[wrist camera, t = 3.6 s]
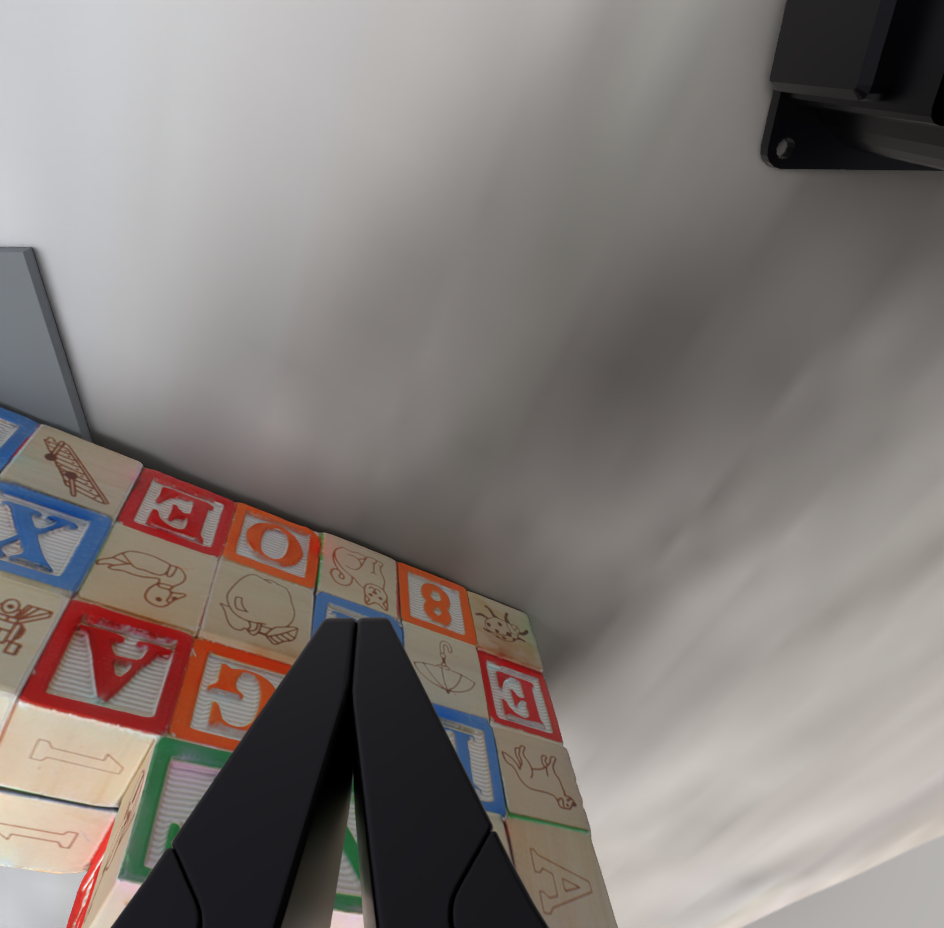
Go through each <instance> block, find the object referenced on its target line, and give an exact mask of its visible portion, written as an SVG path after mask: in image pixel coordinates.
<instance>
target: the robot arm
mask: <svg viewBox="0 0 944 928" xmlns="http://www.w3.org/2000/svg"><path fill="white" fill-rule="evenodd" d="M770 82H771V84H772V86H773V88H774V91H773V96H772V100H771V104H770V109H769V113H768V118H767V122H766V127H765V131H764V135H763V140H762V144H761V157H762V159H763V161H764V162H765V163H766V164H767V165H769V166H772V167H776V168H780V169H846V170H935V171H944V0H787V3H786V7H785V12H784V16H783V21H782V25H781V30H780V34H779V39H778V43H777V48H776V53H775V57H774V62H773V66H772V71H771V75H770ZM783 139H787V141H788V147H787V149H786V151H785V153H784V154H782V155H781V156H777V154H776V148H777V146H778V144H779V143H780V142H781V141H782V140H783ZM352 784H353V785H354V807H355V821H356V834H357V846H358V859H359V872H360V884H361V897H362V910H363V922H364V928H549V926H548V925H547V923H546V921H545V920H544V918H543V916H542V915H541V913H540V912H539V910H538V908H537V907H536V905H535V903H534V902H533V900H532V898H531V896H530V894H529V892H528V890H527V889H526V887H525V885H524V883H523V881H522V879H521V878H520V876H519V874H518V872H517V870H516V868H515V867H514V865H513V863H512V861H511V859H510V857H509V855H508V853H507V851H506V849H505V847H504V845H503V843H502V841H501V839H500V837H499V835H498V833H497V832H495V831H493V824H492V822H491V820H490V818H489V816H488V814H487V812H486V810H485V808H484V806H483V804H482V802H481V800H480V798H479V796H478V794H477V792H476V790H475V788H474V786H473V784H472V782H471V780H470V778H469V776H468V774H467V772H466V770H465V768H464V766H463V764H462V762H461V760H460V758H459V756H458V754H457V752H456V750H455V748H454V746H453V744H452V742H451V740H450V738H449V736H448V734H447V732H446V730H445V728H444V726H443V725H442V723H441V721H440V719H439V717H438V715H437V713H436V711H435V709H434V707H433V705H432V703H431V701H430V699H429V697H428V695H427V693H426V691H425V689H424V687H423V685H422V683H421V681H420V679H419V677H418V675H417V673H416V671H415V669H414V667H413V665H412V663H411V661H410V659H409V657H408V655H407V653H406V651H405V649H404V647H403V645H402V643H401V641H400V639H399V637H398V635H397V633H396V631H395V629H394V627H393V625H392V623H391V621H390V620H389V619H388V618H386V617H362V618H360V619H358V621H357V623H356V620H355V619H354V618H327V619H325V620H324V621H323V622H322V623H321V624H320V626H319V627H318V628H317V630H316V631H315V633H314V634H313V636H312V637H311V639H310V640H309V642H308V643H307V644H306V646H305V647H304V649H303V650H302V652H301V653H300V655H299V656H298V658H297V659H296V661H295V662H294V663H293V665H292V666H291V668H290V669H289V671H288V672H287V674H286V675H285V677H284V678H283V680H282V681H281V682H280V684H279V685H278V687H277V688H276V690H275V691H274V693H273V694H272V696H271V697H270V698H269V700H268V701H267V703H266V704H265V706H264V707H263V709H262V710H261V712H260V713H259V715H258V716H257V717H256V719H255V720H254V722H253V723H252V725H251V726H250V728H249V729H248V731H247V732H246V734H245V735H244V736H243V738H242V739H241V741H240V742H239V744H238V745H237V747H236V748H235V750H234V751H233V752H232V754H231V755H230V757H229V758H228V760H227V761H226V763H225V764H224V766H223V767H222V769H221V770H220V771H219V773H218V774H217V776H216V777H215V779H214V780H213V782H212V783H211V785H210V786H209V788H208V789H207V790H206V792H205V793H204V795H203V796H202V798H201V799H200V801H199V802H198V804H197V805H196V806H195V808H194V809H193V811H192V812H191V814H190V815H189V817H188V818H187V820H186V821H185V823H184V824H183V825H182V827H181V828H180V830H179V831H178V833H177V834H176V836H175V837H174V839H173V840H172V842H171V846H172V848H167V849H166V850H165V851H164V853H163V854H162V856H161V857H160V858H159V860H158V861H157V863H156V864H155V866H154V867H153V869H152V870H151V872H150V873H149V875H148V876H147V878H146V879H145V880H144V882H143V883H142V885H141V886H140V887H139V889H138V890H137V892H136V893H135V894H134V896H133V897H132V899H131V900H130V901H129V903H128V904H127V905H126V907H125V908H124V910H123V911H122V912H121V914H120V915H119V916H118V918H117V919H116V921H115V922H114V923H113V925H112V926H111V928H330V926H331V920H332V914H333V908H334V902H335V895H336V889H337V883H338V877H339V871H340V865H341V859H342V852H343V846H344V840H345V834H346V828H347V822H348V815H349V809H350V802H351V794H352Z"/></svg>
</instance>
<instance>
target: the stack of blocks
mask: <svg viewBox="0 0 944 928" xmlns="http://www.w3.org/2000/svg"><path fill="white" fill-rule="evenodd" d="M362 617H386V618H388V619H389V620H390V621H391V623H392V625H393V627H394V629H395V631H396V633H397V635H398V637H399V639H400V641H401V643H402V645H403V647H404V649H405V651H406V653H407V655H408V657H409V659H410V661H411V663H412V665H413V667H414V669H415V671H416V673H417V675H418V677H419V679H420V681H421V683H422V685H423V687H424V689H425V691H426V693H427V695H428V697H429V699H430V701H431V703H432V705H433V707H434V709H435V711H436V713H437V715H438V717H439V719H440V721H441V723H442V725H443V726H444V728H445V730H446V732H447V734H448V736H449V738H450V740H451V742H452V744H453V746H454V748H455V750H456V752H457V754H458V756H459V758H460V760H461V762H462V764H463V766H464V768H465V770H466V772H467V774H468V776H469V778H470V780H471V782H472V784H473V786H474V788H475V790H476V792H477V794H478V796H479V798H480V800H481V802H482V804H483V806H484V808H485V810H486V812H487V814H488V816H489V818H490V820H491V822H492V824H493V831H495V832H497V833H498V835H499V837H500V839H501V841H502V843H503V845H504V847H505V849H506V851H507V853H508V855H509V857H510V859H511V861H512V863H513V865H514V867H515V868H516V870H517V872H518V874H519V876H520V878H521V879H522V881H523V883H524V885H525V887H526V889H527V890H528V892H529V894H530V896H531V898H532V900H533V902H534V903H535V905H536V907H537V908H538V910H539V912H540V913H541V915H542V916H543V918H544V920H545V921H546V923H547V925H548V926H549V928H618V926H617V923H616V920H615V917H614V913H613V910H612V906H611V903H610V899H609V896H608V893H607V889H606V886H605V882H604V879H603V876H602V873H601V870H600V866H599V863H598V860H597V857H596V853H595V850H594V847H593V844H592V840H591V829H590V825H589V822H588V819H587V815H586V812H585V810H584V808H583V800H582V797H581V795H580V792H579V789H578V785H577V783H576V777H575V773H574V770H573V768H572V764H571V761H570V757H569V754H568V751H567V749H566V748H565V747H563V740H562V736H561V733H560V729H559V725H558V721H557V718H556V715H555V712H554V708H553V705H552V701H551V698H550V695H549V692H548V688H547V685H546V682H545V679H544V677H543V675H542V672H543V665H542V662H541V659H540V655H539V651H538V648H537V645H536V641H535V638H534V636H533V632H532V629H531V626H530V623H529V619H528V616H527V615H526V614H525V613H523V612H521V611H518V610H516V609H513V608H510V607H508V606H505V605H503V604H501V603H498V602H496V601H493V600H490V599H488V598H485V597H483V596H480V595H478V594H476V593H473V592H469V591H466V589H465V588H464V587H462V586H460V585H457V584H455V583H453V582H450V581H447V580H445V579H442V578H440V577H437V576H435V575H432V574H430V573H427V572H424V571H422V570H419V569H417V568H414V567H411V566H409V565H406V564H404V563H400V562H396V561H395V560H393V559H391V558H389V557H387V556H384V555H382V554H380V553H377V552H375V551H372V550H369V549H367V548H365V547H362V546H360V545H357V544H355V543H352V542H350V541H347V540H344V539H342V538H339V537H337V536H334V535H331V534H328V533H325V532H324V533H318V532H315V531H312V530H311V529H309V528H307V527H304V526H299V525H297V524H295V523H292V522H289V521H286V520H284V519H282V518H280V517H277V516H275V515H272V514H269V513H267V512H264V511H262V510H259V509H256V508H254V507H251V506H249V505H246V504H244V503H235V502H233V501H231V500H230V499H227V498H225V497H222V496H219V495H217V494H214V493H212V492H210V491H208V490H205V489H203V488H200V487H197V486H195V485H192V484H190V483H187V482H184V481H180V480H178V479H176V478H174V477H172V476H169V475H166V474H164V473H161V472H159V471H156V470H152V469H147V468H145V467H144V466H143V464H142V463H140V462H139V461H137V460H134V459H132V458H129V457H127V456H124V455H121V454H119V453H116V452H114V451H111V450H109V449H106V448H103V447H101V446H98V445H96V444H93V443H91V442H88V441H86V440H83V439H81V438H78V437H76V436H73V435H71V434H68V433H66V432H63V431H61V430H58V429H55V428H53V427H50V426H47V425H43V424H39V423H37V422H35V421H33V420H32V419H29V418H27V417H24V416H22V415H19V414H17V413H14V412H11V411H9V410H6V409H4V408H2V407H0V866H6V867H14V868H21V869H28V870H35V871H42V872H49V873H56V874H66V873H79V872H83V871H88V872H87V874H86V875H85V876H84V878H83V880H82V882H81V885H80V887H79V890H78V892H77V895H76V899H75V902H74V905H73V908H72V911H71V914H70V917H69V921H68V924H67V928H111V926H112V925H113V923H114V922H115V921H116V919H117V918H118V916H119V915H120V914H121V912H122V911H123V910H124V908H125V907H126V905H127V904H128V903H129V901H130V900H131V899H132V897H133V896H134V894H135V893H136V892H137V890H138V889H139V887H140V886H141V885H142V883H143V882H144V880H145V879H146V878H147V876H148V875H149V873H150V872H151V870H152V869H153V867H154V866H155V864H156V863H157V861H158V860H159V858H160V857H161V856H162V854H163V853H164V851H165V850H166V849H167V848H172V846H171V842H172V840H173V839H174V837H175V836H176V834H177V833H178V831H179V830H180V828H181V827H182V825H183V824H184V823H185V821H186V820H187V818H188V817H189V815H190V814H191V812H192V811H193V809H194V808H195V806H196V805H197V804H198V802H199V801H200V799H201V798H202V796H203V795H204V793H205V792H206V790H207V789H208V788H209V786H210V785H211V783H212V782H213V780H214V779H215V777H216V776H217V774H218V773H219V771H220V770H221V769H222V767H223V766H224V764H225V763H226V761H227V760H228V758H229V757H230V755H231V754H232V752H233V751H234V750H235V748H236V747H237V745H238V744H239V742H240V741H241V739H242V738H243V736H244V735H245V734H246V732H247V731H248V729H249V728H250V726H251V725H252V723H253V722H254V720H255V719H256V717H257V716H258V715H259V713H260V712H261V710H262V709H263V707H264V706H265V704H266V703H267V701H268V700H269V698H270V697H271V696H272V694H273V693H274V691H275V690H276V688H277V687H278V685H279V684H280V682H281V681H282V680H283V678H284V677H285V675H286V674H287V672H288V671H289V669H290V668H291V666H292V665H293V663H294V662H295V661H296V659H297V658H298V656H299V655H300V653H301V652H302V650H303V649H304V647H305V646H306V644H307V643H308V642H309V640H310V639H311V637H312V636H313V634H314V633H315V631H316V630H317V628H318V627H319V626H320V624H321V623H322V622H323V621H324V620H325V619H327V618H354V619H355V620H356V623H357V621H358V619H360V618H362ZM330 928H364V922H363V910H362V897H361V884H360V872H359V859H358V846H357V834H356V821H355V807H354V785H353V784H352V794H351V802H350V809H349V815H348V822H347V828H346V834H345V840H344V846H343V852H342V859H341V865H340V871H339V877H338V883H337V889H336V895H335V902H334V908H333V914H332V920H331V926H330Z"/></svg>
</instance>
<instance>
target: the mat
mask: <svg viewBox="0 0 944 928" xmlns="http://www.w3.org/2000/svg"><path fill="white" fill-rule="evenodd" d="M0 407H2V408H4V409H6V410H9V411H11V412H14V413H17V414H19V415H22V416H24V417H27V418H29V419H32V420H33V421H35V422H37V423H39V424H43V425H47V426H50V427H53V428H55V429H58V430H61V431H63V432H66V433H68V434H71V435H73V436H76V437H78V438H81V439H83V440H86V441H88V442H91V443H93V442H92V439H91V436H90V432H89V429H88V426H87V423H86V420H85V416H84V413H83V410H82V407H81V404H80V401H79V397H78V394H77V391H76V388H75V385H74V381H73V378H72V375H71V372H70V369H69V365H68V362H67V359H66V356H65V353H64V350H63V346H62V343H61V340H60V337H59V334H58V330H57V327H56V324H55V321H54V318H53V314H52V311H51V308H50V305H49V302H48V298H47V295H46V292H45V289H44V286H43V283H42V279H41V276H40V273H39V270H38V267H37V263H36V260H35V257H34V254H33V251H32V247H0Z"/></svg>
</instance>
